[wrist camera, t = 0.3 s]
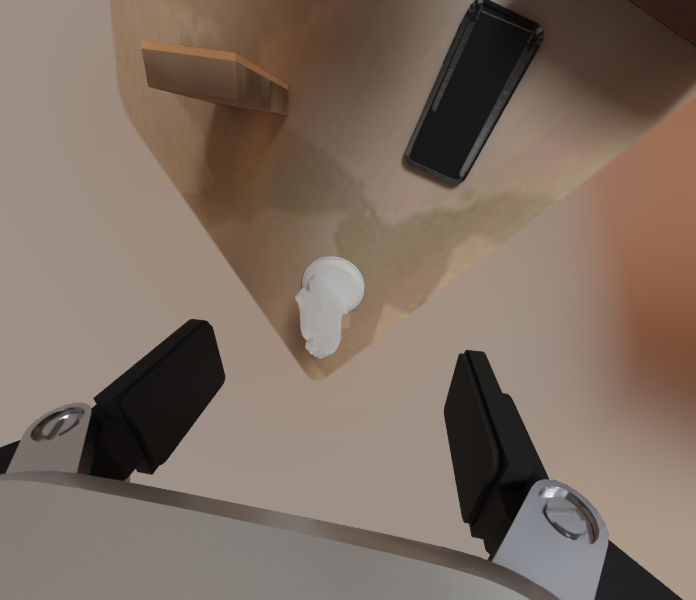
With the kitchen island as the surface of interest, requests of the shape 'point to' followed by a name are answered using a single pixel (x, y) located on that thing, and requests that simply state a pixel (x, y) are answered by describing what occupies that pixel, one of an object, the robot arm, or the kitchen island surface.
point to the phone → (473, 89)
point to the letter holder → (673, 15)
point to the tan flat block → (213, 77)
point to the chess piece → (327, 302)
